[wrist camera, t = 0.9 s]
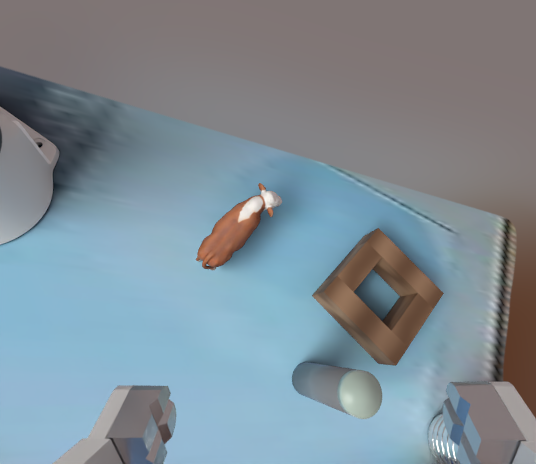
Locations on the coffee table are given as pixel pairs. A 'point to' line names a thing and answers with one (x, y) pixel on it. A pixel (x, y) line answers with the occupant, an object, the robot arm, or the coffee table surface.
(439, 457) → the water bottle
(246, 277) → the coffee table surface
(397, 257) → the square wooden frame
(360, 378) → the grey domed cylinder
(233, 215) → the bull figurine
